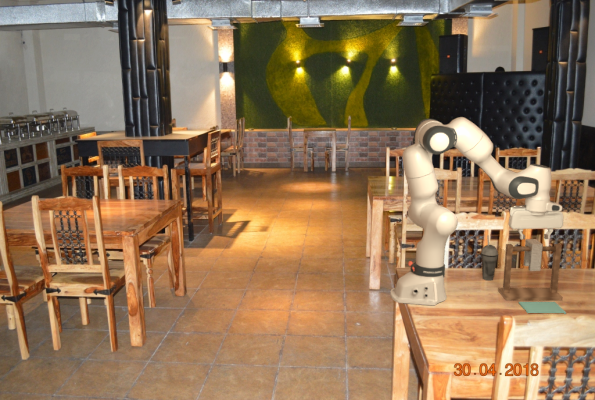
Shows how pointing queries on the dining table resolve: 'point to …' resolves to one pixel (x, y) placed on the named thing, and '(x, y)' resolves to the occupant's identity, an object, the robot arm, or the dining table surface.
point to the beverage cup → (488, 261)
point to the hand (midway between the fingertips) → (534, 238)
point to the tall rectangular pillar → (533, 254)
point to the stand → (531, 293)
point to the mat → (542, 307)
